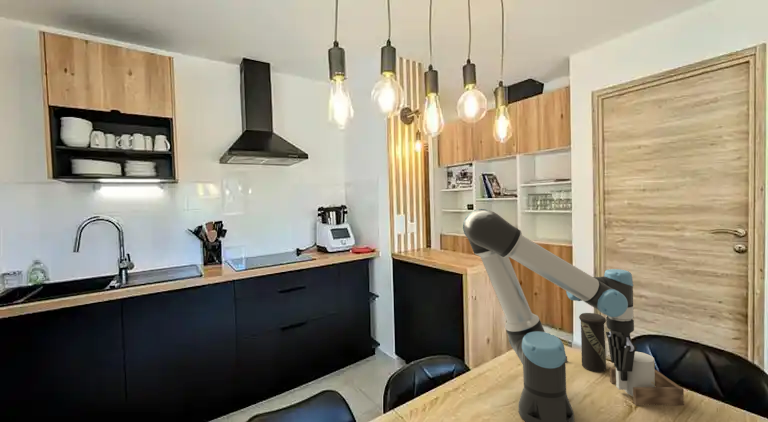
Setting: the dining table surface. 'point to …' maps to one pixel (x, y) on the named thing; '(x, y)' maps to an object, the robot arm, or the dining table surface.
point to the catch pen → (655, 391)
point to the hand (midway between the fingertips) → (621, 388)
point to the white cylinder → (641, 372)
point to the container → (593, 342)
